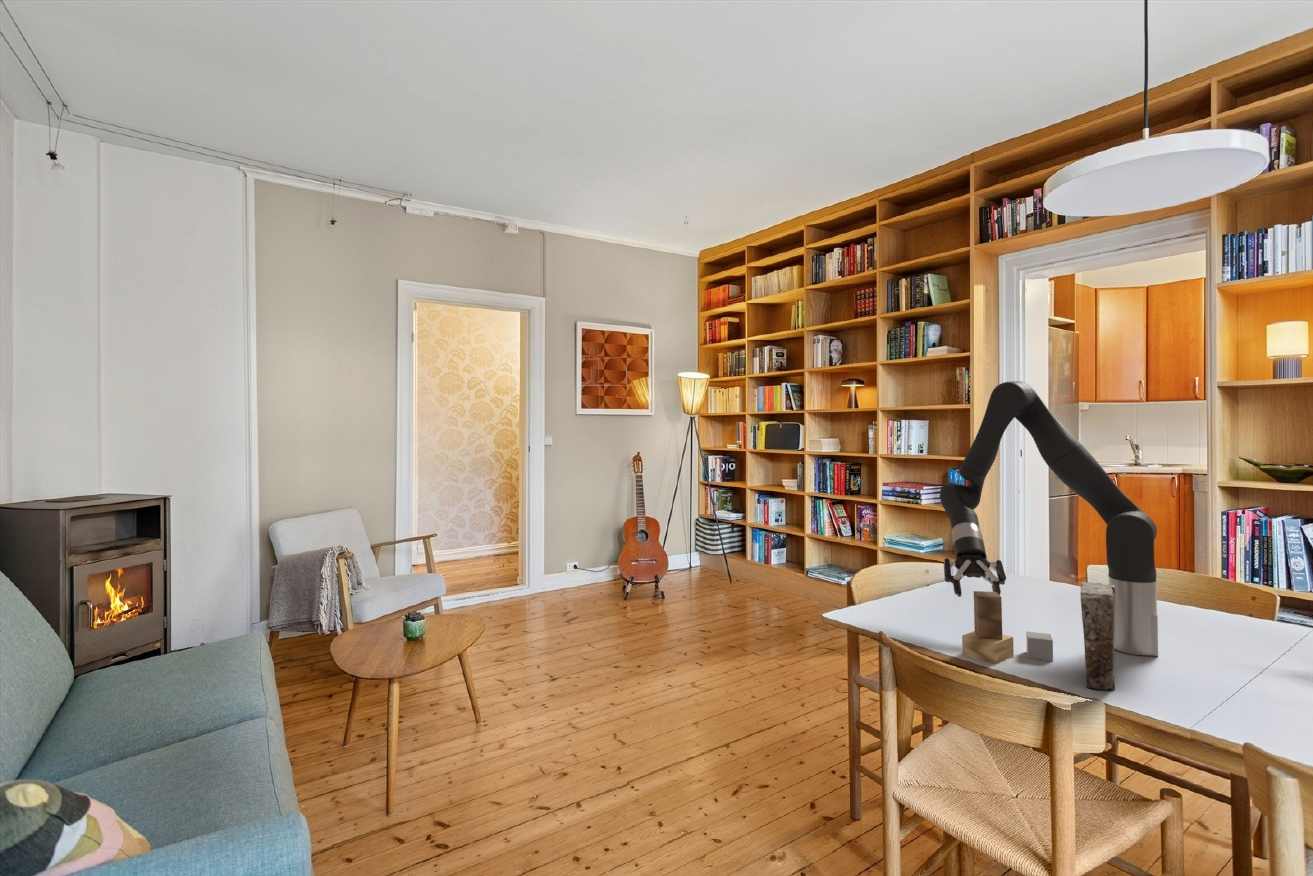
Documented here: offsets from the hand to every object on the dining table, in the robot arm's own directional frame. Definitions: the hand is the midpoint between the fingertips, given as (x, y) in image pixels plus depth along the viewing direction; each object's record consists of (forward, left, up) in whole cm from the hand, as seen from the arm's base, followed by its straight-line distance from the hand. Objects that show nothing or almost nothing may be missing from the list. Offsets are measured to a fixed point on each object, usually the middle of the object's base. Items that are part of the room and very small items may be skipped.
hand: (978, 596), depth 161 cm
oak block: (-4, +10, -12) cm, 16 cm away
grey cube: (-14, +4, -12) cm, 18 cm away
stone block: (-26, +14, -12) cm, 31 cm away
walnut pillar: (-4, +10, -7) cm, 12 cm away
